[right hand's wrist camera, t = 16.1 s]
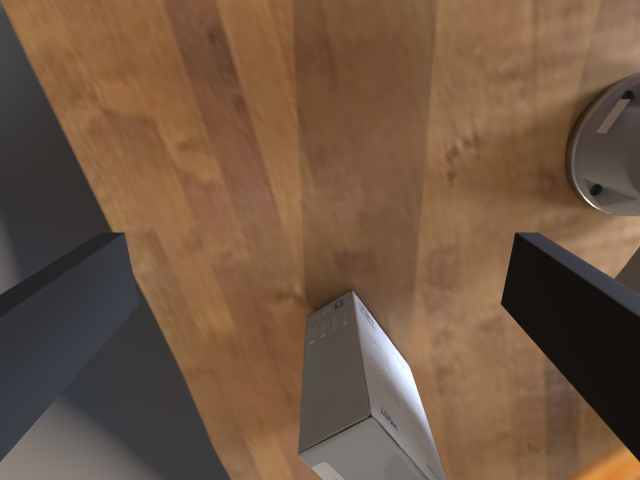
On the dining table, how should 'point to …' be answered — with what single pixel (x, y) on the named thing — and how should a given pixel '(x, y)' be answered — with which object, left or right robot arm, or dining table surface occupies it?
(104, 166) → the dining table surface
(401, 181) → the dining table surface
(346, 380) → the hard drive box
